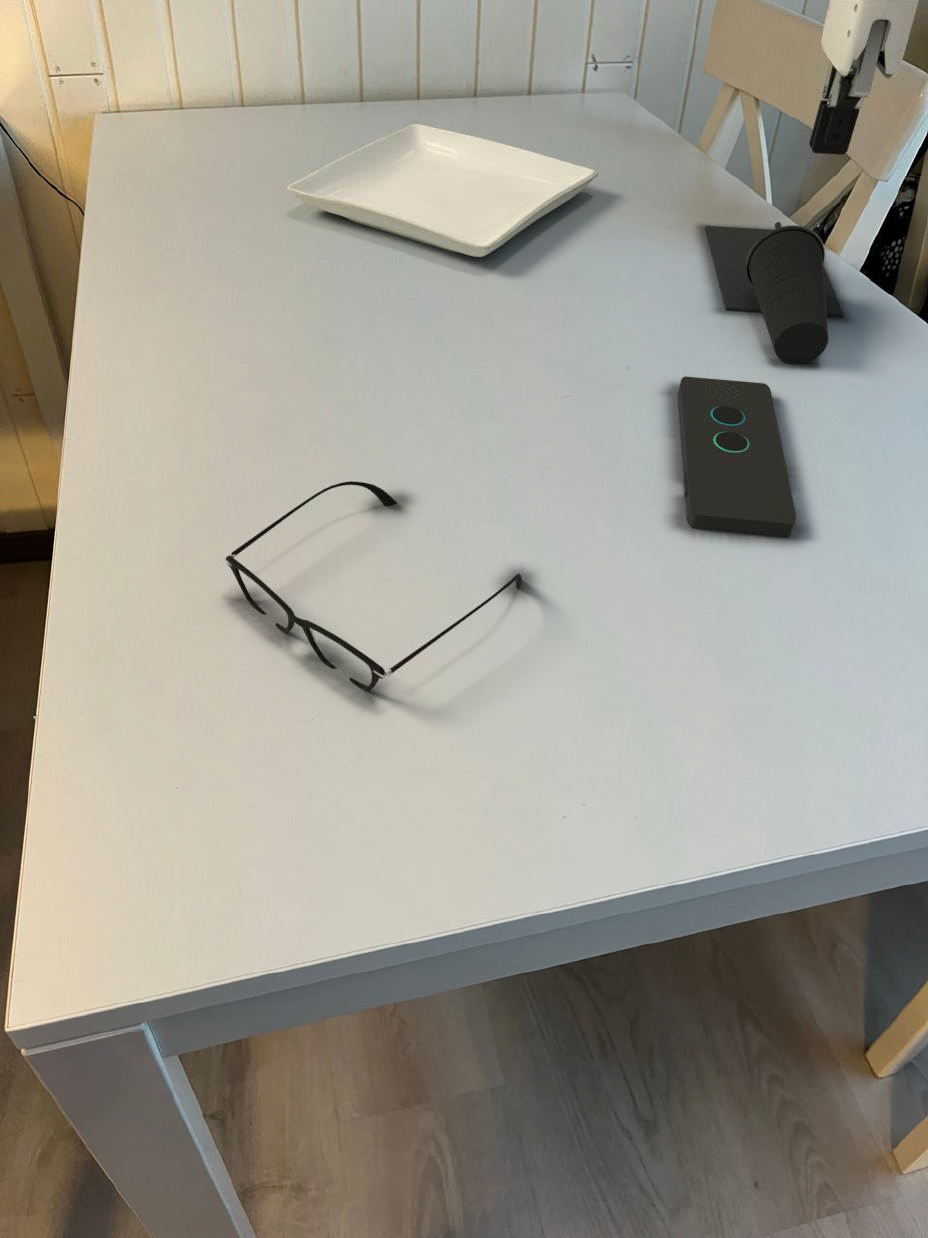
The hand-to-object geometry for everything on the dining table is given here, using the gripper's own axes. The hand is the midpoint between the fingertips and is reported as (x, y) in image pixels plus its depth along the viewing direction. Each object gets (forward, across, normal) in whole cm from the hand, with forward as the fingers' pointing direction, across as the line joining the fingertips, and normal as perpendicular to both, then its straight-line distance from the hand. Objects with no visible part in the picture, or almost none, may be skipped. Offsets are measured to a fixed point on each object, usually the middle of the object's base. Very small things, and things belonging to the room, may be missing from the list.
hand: (827, 150), depth 88 cm
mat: (+16, +8, 0) cm, 18 cm away
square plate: (+16, +20, +37) cm, 45 cm away
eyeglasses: (+16, -47, +36) cm, 61 cm away
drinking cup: (+13, -12, +1) cm, 18 cm away
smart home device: (+16, -28, +9) cm, 33 cm away
